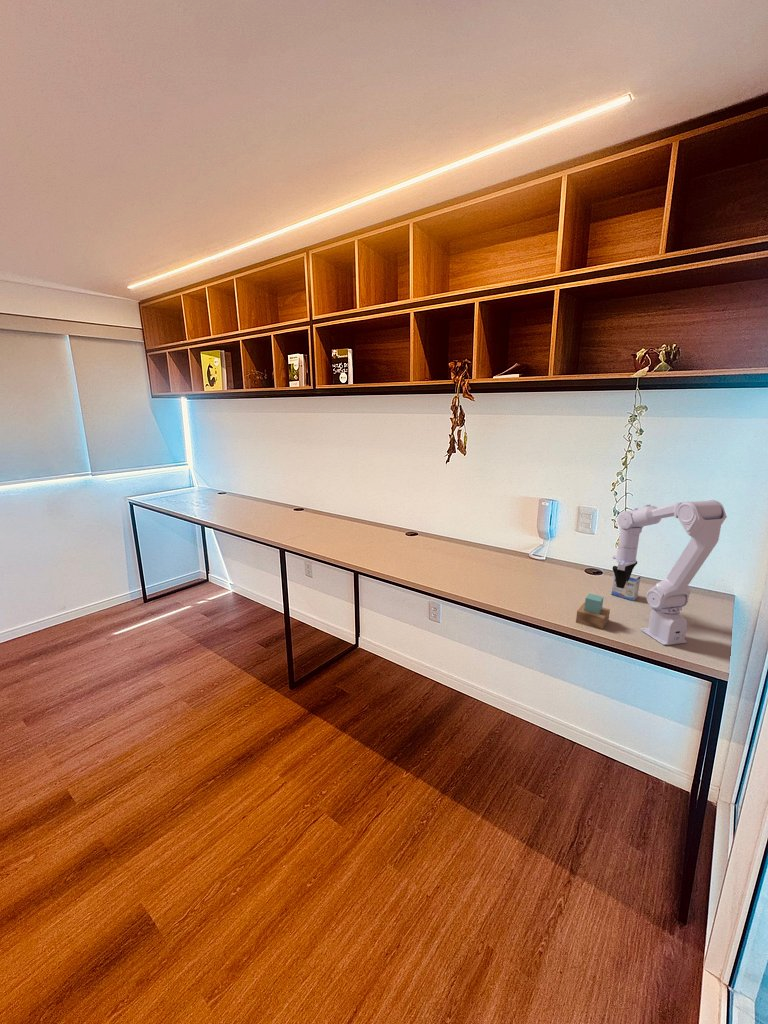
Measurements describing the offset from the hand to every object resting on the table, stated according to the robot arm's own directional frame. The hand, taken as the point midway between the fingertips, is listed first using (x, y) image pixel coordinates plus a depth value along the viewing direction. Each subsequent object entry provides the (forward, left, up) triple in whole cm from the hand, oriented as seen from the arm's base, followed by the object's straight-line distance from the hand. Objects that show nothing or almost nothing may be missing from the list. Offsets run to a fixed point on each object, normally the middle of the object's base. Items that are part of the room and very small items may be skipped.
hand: (622, 584), depth 149 cm
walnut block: (-6, +15, -9) cm, 18 cm away
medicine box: (+9, -9, -10) cm, 16 cm away
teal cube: (-6, +15, -5) cm, 17 cm away
